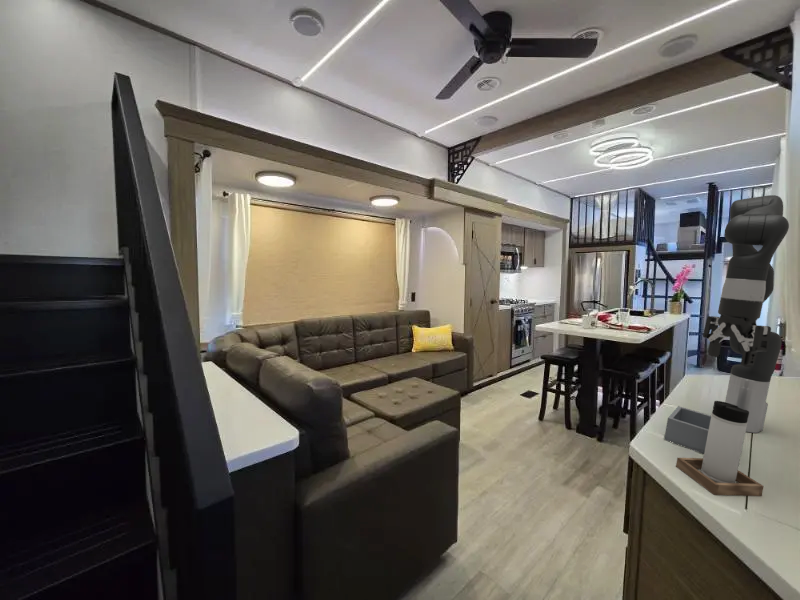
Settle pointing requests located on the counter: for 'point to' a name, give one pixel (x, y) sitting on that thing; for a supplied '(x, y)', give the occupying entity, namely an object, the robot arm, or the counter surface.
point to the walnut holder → (743, 486)
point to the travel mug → (724, 442)
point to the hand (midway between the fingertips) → (728, 361)
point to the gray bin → (688, 428)
